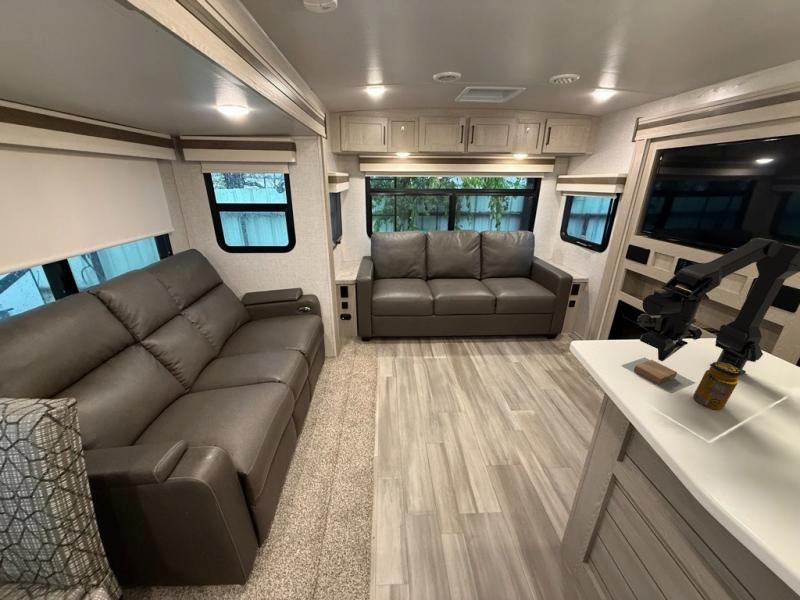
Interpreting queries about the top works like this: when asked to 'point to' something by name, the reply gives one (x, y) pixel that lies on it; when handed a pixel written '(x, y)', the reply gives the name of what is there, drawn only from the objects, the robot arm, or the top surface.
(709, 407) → the condiment
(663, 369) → the wooden block
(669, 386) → the mat
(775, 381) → the top surface
